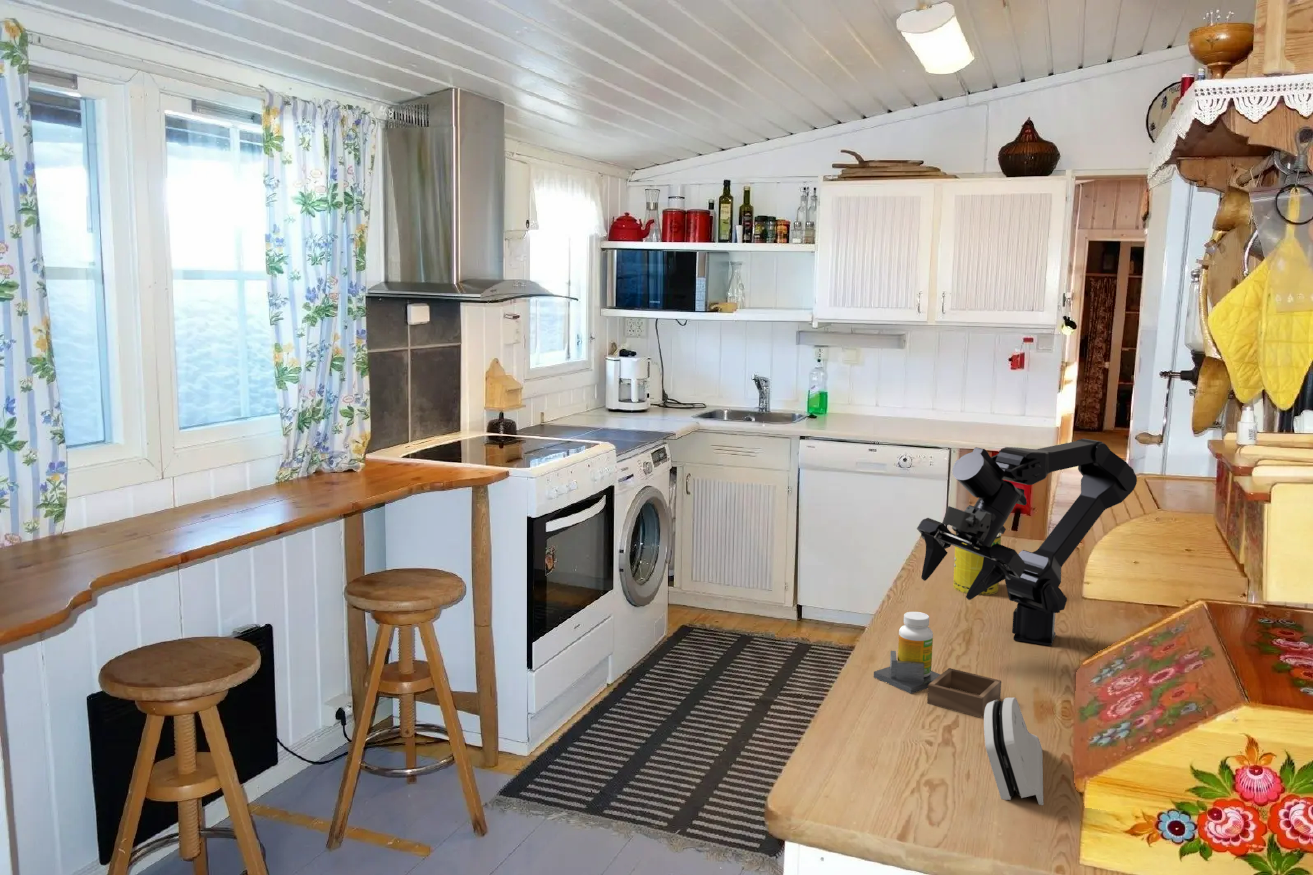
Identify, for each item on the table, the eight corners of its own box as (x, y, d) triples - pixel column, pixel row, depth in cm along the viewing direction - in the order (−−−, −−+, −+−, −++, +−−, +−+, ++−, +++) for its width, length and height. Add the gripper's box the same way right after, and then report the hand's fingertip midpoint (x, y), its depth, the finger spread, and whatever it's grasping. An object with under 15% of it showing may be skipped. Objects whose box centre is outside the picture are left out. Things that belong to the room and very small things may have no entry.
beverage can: (1003, 586, 215) (1006, 530, 213) (991, 597, 207) (994, 540, 205) (960, 579, 220) (962, 525, 218) (947, 590, 212) (950, 534, 210)
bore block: (948, 685, 164) (949, 667, 163) (1000, 698, 159) (1001, 680, 158) (927, 703, 157) (927, 684, 157) (980, 717, 152) (981, 698, 152)
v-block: (907, 666, 172) (908, 643, 171) (944, 682, 165) (946, 658, 165) (873, 677, 167) (874, 654, 167) (911, 693, 161) (912, 669, 160)
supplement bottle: (926, 681, 163) (929, 623, 162) (893, 674, 166) (895, 617, 164) (934, 669, 168) (937, 613, 166) (902, 663, 170) (904, 608, 169)
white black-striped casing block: (1043, 806, 127) (1018, 731, 127) (1005, 812, 129) (980, 738, 129) (1042, 747, 143) (1020, 680, 142) (1007, 753, 145) (986, 687, 144)
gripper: (927, 473, 177) (881, 549, 174) (1021, 504, 162) (972, 587, 159) (953, 505, 183) (909, 578, 181) (1045, 537, 169) (999, 617, 166)
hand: (944, 589), depth 172 cm, fingers open, 9 cm apart
